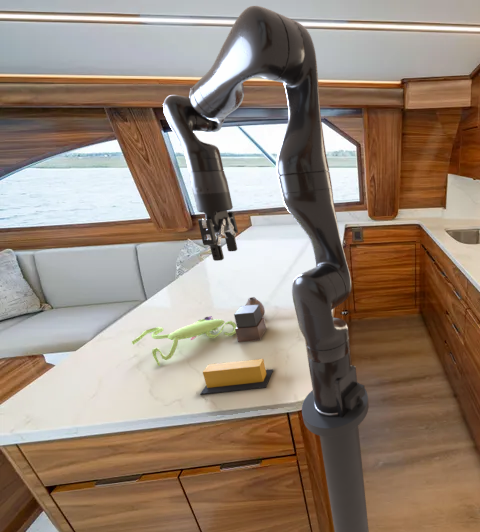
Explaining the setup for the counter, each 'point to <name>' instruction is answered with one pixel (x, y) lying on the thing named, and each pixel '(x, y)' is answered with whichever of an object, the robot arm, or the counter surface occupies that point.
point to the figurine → (187, 333)
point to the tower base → (251, 332)
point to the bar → (234, 373)
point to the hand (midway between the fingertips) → (226, 255)
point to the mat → (238, 386)
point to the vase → (255, 302)
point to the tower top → (248, 316)
